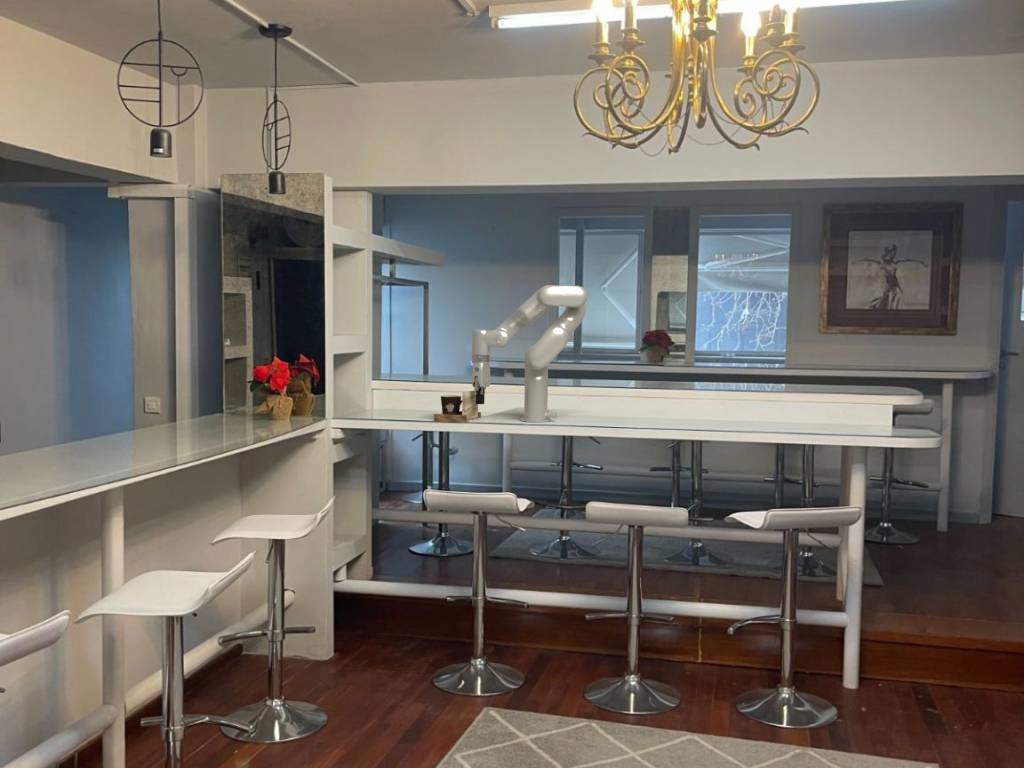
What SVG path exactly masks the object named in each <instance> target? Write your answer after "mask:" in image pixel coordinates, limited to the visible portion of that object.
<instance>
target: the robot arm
mask: <svg viewBox="0 0 1024 768" xmlns="http://www.w3.org/2000/svg"><path fill="white" fill-rule="evenodd" d="M587 300H588V292H587V291H586V288H584V287H582V286H581V285H556V284H554V285H552V284H546V285H544V286H542V287H540V288H538V290H537V291H536V292H534V293H533V294H532V295H531V296H530V297H529V298H528V299H527V300H526V301H524V302H523V303H522V304H521V305H520V306H518V307H517V309H516V310H514V312H512V314H511V315H510V316H509V317H507V319H505V320H504V321H503V322H502V323H501V324H500V325H499V326H497V327H496V328H495V329H491V330H489V329H482V328H480V329H479V328H477V329H473V330H472V334H471V337H472V339H471V340H472V341H471V342H472V343H471V364H472V373H471V386H472V387H473V388H474V389H473V391H476V404H478V405H485V393H486V389H487V388H488V387H490V386H491V365H490V363H491V347H494V348H500V349H502V348H505V347H507V346H508V345H509V342H510V341H511V340H512V339H513V338H514V337H515V336H516V335H518V333H520V332H521V331H522V330H524V329H525V328H527V327H530V326H531V325H532V324H533V323H534V322H535V321H536V320H538V319H539V318H540V317H541V316H543V314H544V313H545V312H546V311H547V310H549V309H551V307H565V309H564V311H563V312H561V314H560V315H559V317H558V318H557V319H556V320H555V321H554V322H553V323H552V324H551V325H550V326H549V327H548V328H547V329H545V331H544V333H543V334H542V336H541V337H540V339H538V341H537V342H536V343H535V344H532V345H530V346H529V347H528V348H527V349H526V351H525V353H524V408H523V410H524V413H523V414H524V415H523V416H524V417H520V420H521V422H523V421H526V422H525V423H549V422H551V421H552V419H551V418H554V419H556V418H558V413H556V412H550V410H548V397H549V395H548V394H549V393H548V392H549V391H548V390H549V389H548V388H549V387H548V385H549V368H548V366H549V364H550V363H551V362H552V361H553V360H554V359H555V358H556V357H557V356H558V355H559V354H560V353H561V352H562V351H563V349H565V347H566V346H567V344H568V343H569V339H570V336H571V335H572V334H573V333H574V332H575V331H576V329H577V328H578V327H579V326H580V325H581V323H582V322H583V320H584V318H585V316H586V312H587V311H586V309H587V304H586V302H588V301H587Z"/></svg>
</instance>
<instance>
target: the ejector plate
mask: <svg viewBox="0 0 1024 768" xmlns="http://www.w3.org/2000/svg"><path fill="white" fill-rule="evenodd" d="M462 400H463V402H462V403H461V405H462V407H461V408H462V410H461V411H462V415H467V423H468V422H471V421H470V420H472V421H475V420H474V419H476V420H479V419H478V412H479V404H476V391H475V390H471V391H463V392H462Z"/></svg>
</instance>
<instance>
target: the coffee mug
mask: <svg viewBox="0 0 1024 768" xmlns="http://www.w3.org/2000/svg"><path fill="white" fill-rule="evenodd" d="M440 403H441V414H448V415H460V413H462V410H461V405H462V404H463V399H462V395H455V394H453V395H451V394H450V395H449V394H447V395H445V394H444V395H440ZM459 411H461V412H459Z"/></svg>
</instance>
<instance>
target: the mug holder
mask: <svg viewBox="0 0 1024 768" xmlns="http://www.w3.org/2000/svg"><path fill="white" fill-rule="evenodd" d="M461 411H462V410H460V411H459V412H461ZM433 416H434V417H433V422H436V423H437V422H439V423H457V424H459V423H460V424H462V423H463V424H466V423H467V424H468V422H467V415H462V413H460V415H448V414H442V413H434V414H433ZM478 418H481V419H482V412H479V411H478Z"/></svg>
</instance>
